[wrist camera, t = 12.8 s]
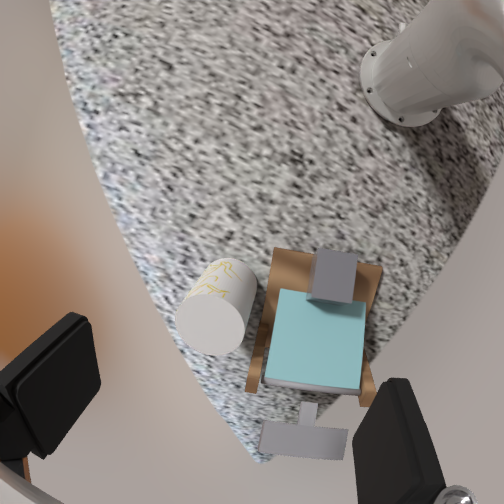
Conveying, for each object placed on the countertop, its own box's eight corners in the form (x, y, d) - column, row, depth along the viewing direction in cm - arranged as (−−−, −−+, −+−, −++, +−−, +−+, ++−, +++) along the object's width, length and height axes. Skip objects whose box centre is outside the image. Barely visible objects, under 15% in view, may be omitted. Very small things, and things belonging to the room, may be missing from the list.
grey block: (305, 300, 41) (312, 256, 42) (341, 305, 40) (347, 262, 41) (311, 297, 36) (318, 247, 37) (351, 303, 35) (358, 254, 37)
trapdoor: (276, 296, 44) (279, 284, 41) (360, 310, 43) (370, 299, 40) (247, 446, 33) (247, 449, 30) (343, 457, 32) (352, 460, 29)
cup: (243, 249, 44) (225, 284, 32) (265, 299, 46) (256, 345, 34) (193, 268, 46) (162, 306, 34) (217, 315, 48) (195, 361, 36)
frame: (272, 246, 43) (263, 287, 30) (382, 266, 42) (413, 311, 29) (256, 342, 48) (242, 401, 35) (352, 357, 47) (365, 416, 34)
